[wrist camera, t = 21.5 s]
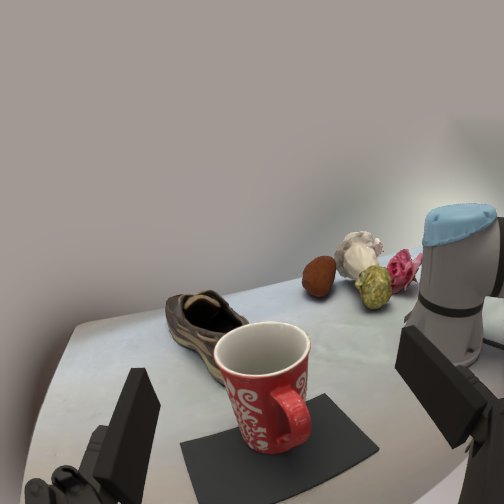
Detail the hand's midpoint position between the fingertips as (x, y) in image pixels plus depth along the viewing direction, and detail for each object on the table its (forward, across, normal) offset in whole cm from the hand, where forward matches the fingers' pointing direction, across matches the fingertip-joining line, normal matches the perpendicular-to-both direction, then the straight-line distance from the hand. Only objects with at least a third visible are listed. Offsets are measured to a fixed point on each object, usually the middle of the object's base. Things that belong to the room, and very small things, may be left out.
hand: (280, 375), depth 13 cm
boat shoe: (+34, -8, -20) cm, 40 cm away
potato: (+46, +19, -16) cm, 53 cm away
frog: (+49, +21, -21) cm, 57 cm away
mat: (+8, 0, -20) cm, 22 cm away
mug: (+10, 0, -20) cm, 22 cm away
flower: (+43, +35, -20) cm, 59 cm away
